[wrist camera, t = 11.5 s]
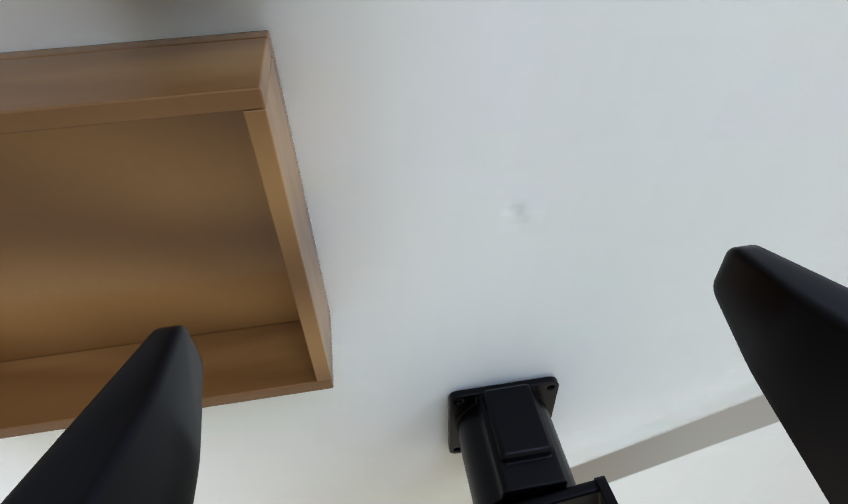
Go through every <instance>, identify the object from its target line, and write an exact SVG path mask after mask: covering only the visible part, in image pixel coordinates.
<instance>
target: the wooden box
mask: <svg viewBox="0 0 848 504" xmlns="http://www.w3.org/2000/svg"><path fill="white" fill-rule="evenodd" d="M175 325H182V326H184V327H186V329H187V330H188V332H189V334H190V336H191V338H192V340H193V342H194V344H195V346H196V348H197V350H198V352H199V354H200V356H201V359H202V362H203V396H202V408H204V407H211V406H217V405H224V404H230V403H237V402H243V401H250V400H256V399H263V398H270V397H276V396H283V395H289V394H296V393H302V392H309V391H315V390H322V389H329V388H333V364H332V341H331V318H330V311H329V306H328V302H327V297H326V293H325V288H324V283H323V279H322V274H321V269H320V265H319V260H318V256H317V251H316V246H315V242H314V237H313V232H312V228H311V223H310V219H309V214H308V209H307V205H306V200H305V195H304V191H303V186H302V182H301V177H300V172H299V168H298V163H297V159H296V154H295V149H294V145H293V140H292V135H291V131H290V126H289V122H288V117H287V112H286V108H285V103H284V98H283V94H282V89H281V85H280V80H279V75H278V71H277V66H276V61H275V57H274V52H273V48H272V43H271V38H270V34H269V31H255V32H243V33H231V34H220V35H208V36H196V37H184V38H173V39H161V40H149V41H137V42H125V43H114V44H102V45H90V46H78V47H66V48H55V49H43V50H31V51H19V52H7V53H0V439H1V438H7V437H14V436H21V435H27V434H34V433H40V432H47V431H53V430H60V429H66V428H68V427H69V426H70V425H71V423H72V422H73V421H74V420H75V419H76V418H77V417H78V415H79V414H80V413H81V412H82V411H83V410H84V409H85V407H86V406H87V405H88V404H89V403H90V402H91V401H92V400H93V398H94V397H95V396H96V395H97V394H98V393H99V392H100V390H101V389H102V388H103V387H104V386H105V385H106V384H107V383H108V381H109V380H110V379H111V378H112V377H113V376H114V375H115V373H116V372H117V371H118V370H119V369H120V368H121V367H122V366H123V364H124V363H125V362H126V361H127V360H128V359H129V358H130V356H131V355H132V354H133V353H134V352H135V351H136V350H137V348H138V347H139V346H140V345H141V344H142V343H143V342H144V341H145V339H146V338H147V337H148V336H149V335H150V334H151V333H152V332H153V331H154V330H155V329H157V328H161V327H168V326H175Z"/></svg>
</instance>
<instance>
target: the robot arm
mask: <svg viewBox="0 0 848 504" xmlns="http://www.w3.org/2000/svg"><path fill="white" fill-rule="evenodd" d="M713 288H714V294H715V297H716V299H717V301H718V303H719V305H720V308H721V310H722V312H723V314H724V316H725V318H726V321H727V323H728V325H729V327H730V329H731V331H732V333H733V336H734V338H735V340H736V342H737V344H738V346H739V348H740V351H741V353H742V355H743V357H744V359H745V361H746V363H747V365H748V367H749V369H750V371H751V373H752V375H753V376H754V378H755V380H756V382H757V384H758V385H759V387H760V389H761V390H762V392H763V394H764V395H765V397H766V399H767V400H768V402H769V404H770V405H771V407H772V408H773V410H774V412H775V413H776V415H777V417H778V418H779V420H780V422H781V424H782V425H783V427H784V429H785V430H786V432H787V433H788V435H789V437H790V438H791V440H792V442H793V443H794V445H795V447H796V448H797V450H798V452H799V453H800V455H801V457H802V458H803V460H804V462H805V463H806V465H807V467H808V468H809V470H810V472H811V473H812V475H813V477H814V478H815V480H816V482H817V483H818V485H819V487H820V488H821V490H822V492H823V493H824V495H825V497H826V498H827V500H828V502H829V503H830V504H848V288H847V287H845V286H843V285H840V284H838V283H836V282H834V281H832V280H830V279H828V278H826V277H824V276H821V275H819V274H817V273H815V272H813V271H811V270H809V269H807V268H804V267H802V266H800V265H798V264H796V263H794V262H792V261H790V260H787V259H785V258H783V257H781V256H779V255H777V254H775V253H773V252H771V251H768V250H766V249H764V248H762V247H760V246H757V245H747V246H740V247H734V248H731V249H730V250H729V251H728V252H727V253H726V255H725V257H724V260H723V262H722V264H721V266H720V269H719V271H718V273H717V276H716V278H715V280H714V285H713ZM558 387H559V384H558V382H557V379H556V378H555V377H544V378H537V379H531V380H525V381H518V382H512V383H505V384H499V385H493V386H486V387H480V388H474V389H467V390H461V391H456V392H453V393H451V394H450V395H449V423H448V446H449V450H450V452H451V453H462V456H463V461H464V465H465V470H466V474H467V478H468V483H469V487H470V492H471V496H472V500H473V504H618V503H617V501H616V499H615V496H614V494H613V492H612V490H611V488H610V486H609V484H608V482H607V480H606V478H605V476H600V477H597V478H594V480H593V481H589V482H585V483H582V484H578V485H576V484H575V481H574V478H573V475H572V473H571V470H570V468H569V465H568V462H567V460H566V457H565V454H564V452H563V449H562V446H561V444H560V441H559V438H558V436H557V433H556V430H555V428H554V425H553V422H552V420H551V416H552V412H553V408H554V404H555V399H556V395H557V391H558ZM202 396H203V362H202V359H201V356H200V354H199V352H198V350H197V348H196V346H195V344H194V342H193V340H192V338H191V336H190V334H189V332H188V330H187V329H186V327H184V326H182V325H175V326H168V327H161V328H157V329H155V330H154V331H153V332H152V333H151V334H150V335H149V336H148V337H147V338H146V339H145V341H144V342H143V343H142V344H141V345H140V346H139V347H138V348H137V350H136V351H135V352H134V353H133V354H132V355H131V356H130V358H129V359H128V360H127V361H126V362H125V363H124V364H123V366H122V367H121V368H120V369H119V370H118V371H117V372H116V373H115V375H114V376H113V377H112V378H111V379H110V380H109V381H108V383H107V384H106V385H105V386H104V387H103V388H102V389H101V390H100V392H99V393H98V394H97V395H96V396H95V397H94V398H93V400H92V401H91V402H90V403H89V404H88V405H87V406H86V407H85V409H84V410H83V411H82V412H81V413H80V414H79V415H78V417H77V418H76V419H75V420H74V421H73V422H72V423H71V425H70V426H69V427H68V428H67V429H66V430H65V431H64V432H63V434H62V435H61V436H60V437H59V438H58V439H57V440H56V442H55V443H54V444H53V445H52V446H51V447H50V448H49V449H48V451H47V452H46V453H45V454H44V455H43V456H42V457H41V459H40V460H39V461H38V462H37V463H36V464H35V465H34V466H33V468H32V469H31V470H30V471H29V472H28V473H27V474H26V476H25V477H24V478H23V479H22V480H21V481H20V482H19V484H18V485H17V486H16V487H15V488H14V489H13V490H12V491H11V493H10V494H9V495H8V496H7V497H6V498H5V499H4V501H3V502H2V503H1V504H193V502H194V496H195V490H196V484H197V477H198V470H199V462H200V447H201V421H202Z"/></svg>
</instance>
